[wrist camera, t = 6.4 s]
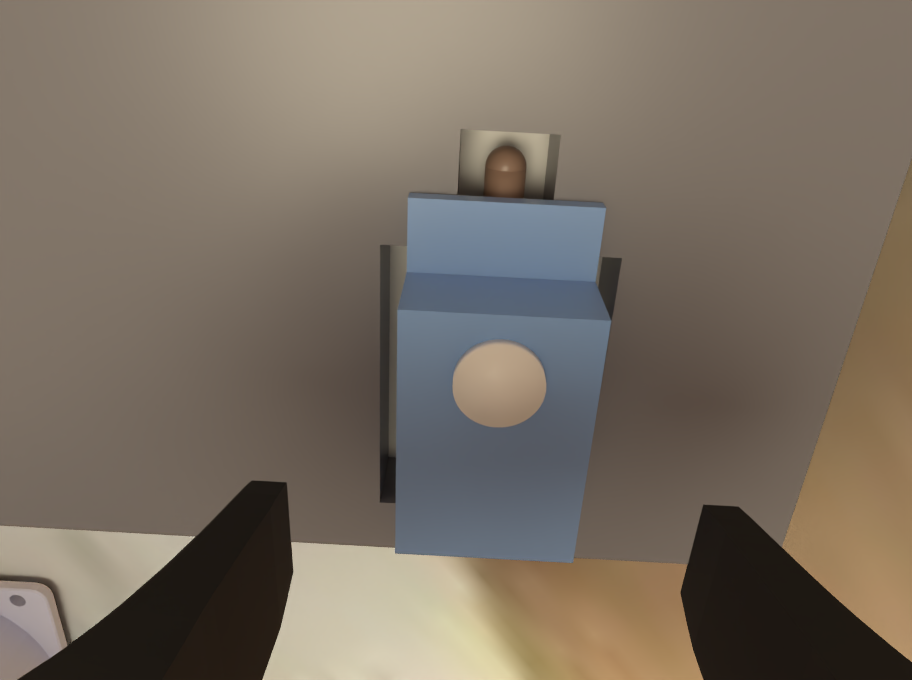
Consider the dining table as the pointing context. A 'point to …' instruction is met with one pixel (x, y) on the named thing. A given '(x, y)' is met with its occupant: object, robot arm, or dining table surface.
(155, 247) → the grey flat block
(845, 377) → the dining table surface
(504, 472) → the servo
